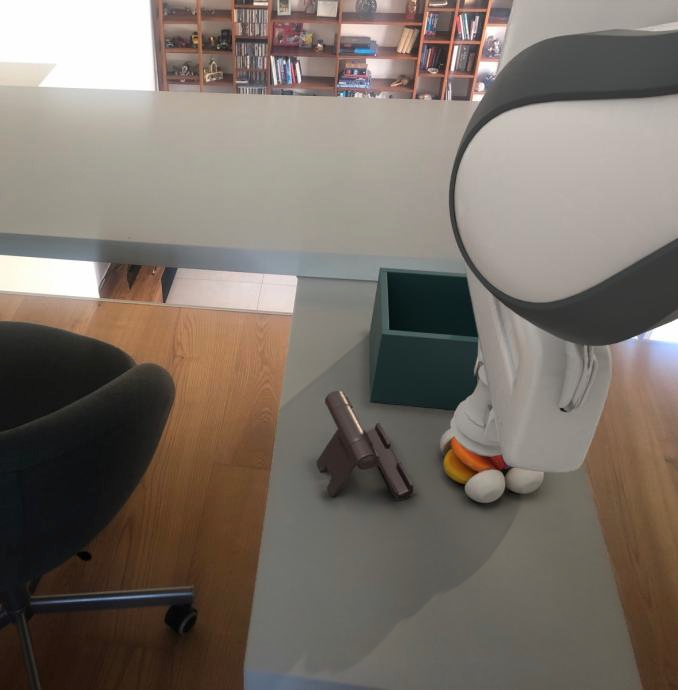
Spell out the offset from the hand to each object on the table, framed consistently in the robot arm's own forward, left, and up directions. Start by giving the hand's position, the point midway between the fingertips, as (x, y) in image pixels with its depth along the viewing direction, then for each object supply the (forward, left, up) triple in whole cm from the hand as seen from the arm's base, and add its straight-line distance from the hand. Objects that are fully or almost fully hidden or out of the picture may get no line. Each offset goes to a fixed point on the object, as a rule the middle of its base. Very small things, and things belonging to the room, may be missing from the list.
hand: (491, 407), depth 46 cm
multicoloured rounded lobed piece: (+7, -15, -24) cm, 30 cm away
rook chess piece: (0, 0, -3) cm, 3 cm away
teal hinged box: (+21, -22, -24) cm, 39 cm away
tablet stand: (+14, -4, -24) cm, 28 cm away
